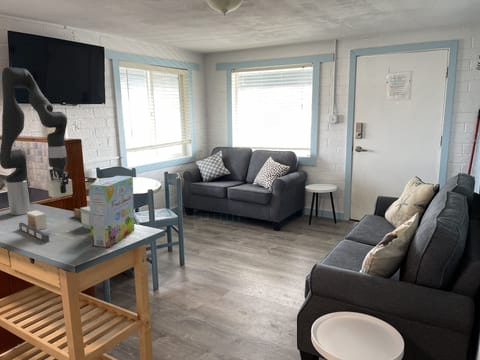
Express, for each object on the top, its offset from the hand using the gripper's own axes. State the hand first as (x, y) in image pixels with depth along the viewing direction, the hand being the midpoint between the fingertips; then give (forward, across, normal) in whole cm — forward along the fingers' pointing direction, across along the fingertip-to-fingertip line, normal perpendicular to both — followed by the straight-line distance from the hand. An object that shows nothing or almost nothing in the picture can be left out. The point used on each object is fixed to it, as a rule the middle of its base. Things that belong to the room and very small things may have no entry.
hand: (60, 191), depth 169 cm
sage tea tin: (+16, +12, +7) cm, 22 cm away
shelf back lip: (+16, +3, +11) cm, 20 cm away
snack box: (+16, +34, +5) cm, 38 cm away
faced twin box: (+17, -7, -9) cm, 20 cm away
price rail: (+16, +3, -15) cm, 22 cm away
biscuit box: (+2, 0, 0) cm, 2 cm away
